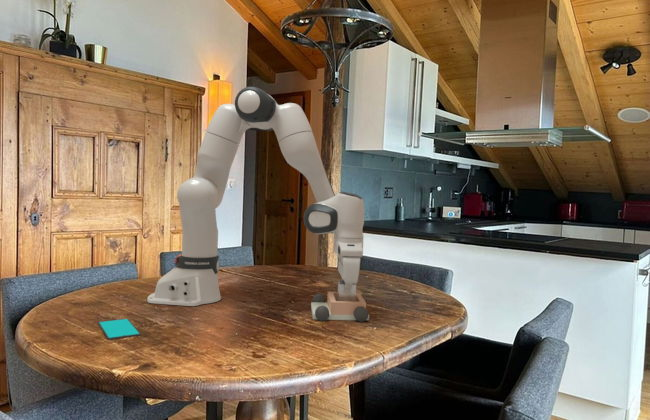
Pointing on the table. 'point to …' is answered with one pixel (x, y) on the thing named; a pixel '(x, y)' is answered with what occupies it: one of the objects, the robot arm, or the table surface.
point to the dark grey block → (342, 295)
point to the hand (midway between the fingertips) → (346, 292)
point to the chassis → (338, 308)
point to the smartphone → (118, 329)
